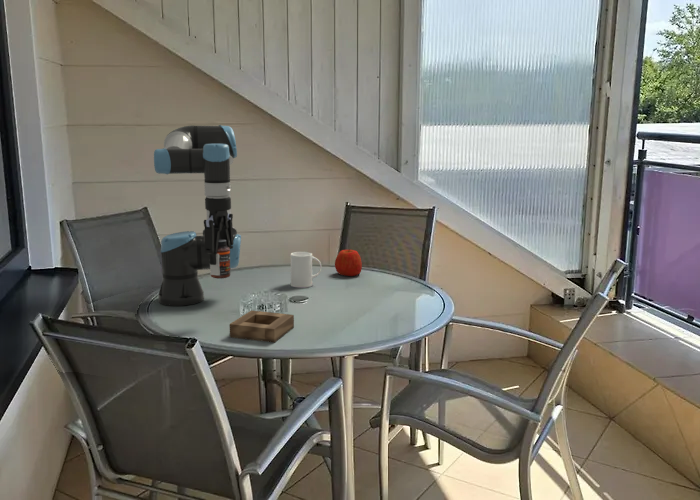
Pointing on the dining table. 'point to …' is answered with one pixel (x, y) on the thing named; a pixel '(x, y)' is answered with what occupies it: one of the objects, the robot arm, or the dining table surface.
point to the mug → (302, 269)
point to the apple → (348, 263)
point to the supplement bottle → (223, 260)
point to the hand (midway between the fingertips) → (220, 272)
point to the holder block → (262, 326)
